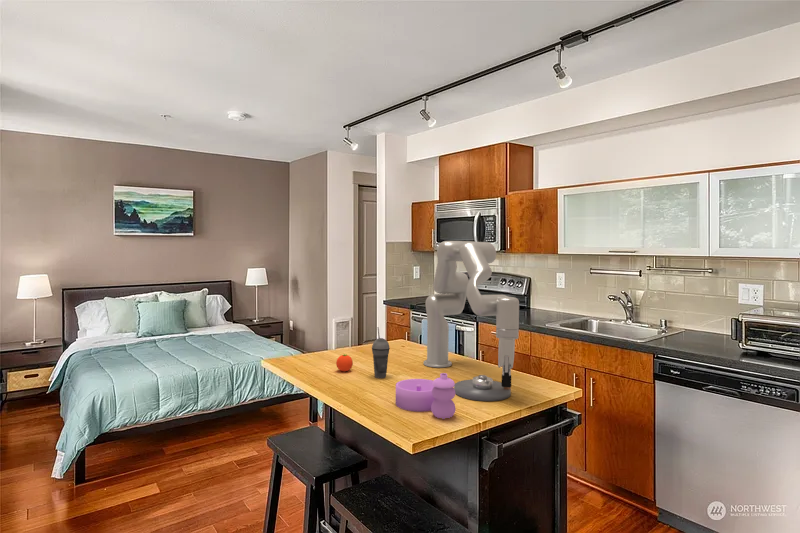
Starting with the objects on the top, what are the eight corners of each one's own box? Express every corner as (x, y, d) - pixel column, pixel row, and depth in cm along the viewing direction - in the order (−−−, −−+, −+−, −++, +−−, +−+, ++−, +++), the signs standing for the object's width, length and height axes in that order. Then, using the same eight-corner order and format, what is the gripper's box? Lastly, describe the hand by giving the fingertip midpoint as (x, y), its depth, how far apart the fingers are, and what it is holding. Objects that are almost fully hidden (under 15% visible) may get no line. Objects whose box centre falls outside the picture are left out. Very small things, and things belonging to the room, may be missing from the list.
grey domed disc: (457, 382, 183) (457, 364, 182) (510, 386, 178) (510, 368, 178) (450, 398, 163) (451, 378, 163) (510, 403, 159) (511, 382, 158)
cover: (472, 383, 174) (472, 373, 174) (492, 385, 173) (492, 374, 173) (472, 389, 167) (472, 378, 167) (492, 390, 166) (492, 379, 166)
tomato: (337, 368, 204) (338, 352, 203) (354, 368, 203) (354, 352, 203) (334, 373, 196) (335, 356, 195) (351, 373, 195) (351, 356, 195)
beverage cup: (387, 379, 186) (387, 329, 186) (369, 378, 188) (369, 328, 187) (391, 375, 194) (391, 326, 193) (373, 374, 195) (374, 325, 194)
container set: (387, 401, 160) (387, 362, 160) (424, 394, 168) (424, 357, 168) (429, 424, 139) (430, 380, 139) (470, 415, 147) (470, 373, 147)
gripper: (496, 329, 170) (495, 380, 171) (495, 336, 156) (494, 391, 156) (518, 330, 169) (517, 381, 169) (518, 337, 154) (517, 393, 155)
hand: (506, 386), depth 163 cm, fingers closed
